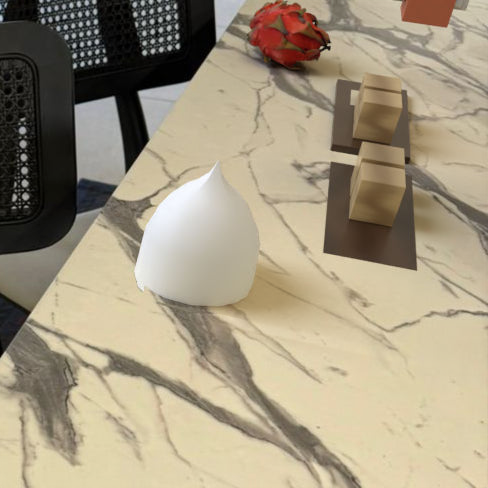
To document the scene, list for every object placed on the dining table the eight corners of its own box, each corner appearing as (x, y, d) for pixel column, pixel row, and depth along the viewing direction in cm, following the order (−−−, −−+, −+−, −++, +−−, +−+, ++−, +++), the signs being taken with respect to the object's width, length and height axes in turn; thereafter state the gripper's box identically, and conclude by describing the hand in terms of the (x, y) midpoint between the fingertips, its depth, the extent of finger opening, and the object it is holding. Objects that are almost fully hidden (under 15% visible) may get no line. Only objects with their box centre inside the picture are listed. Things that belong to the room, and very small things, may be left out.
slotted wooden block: (405, 96, 135) (418, 56, 131) (408, 164, 119) (423, 120, 115) (336, 84, 136) (347, 44, 133) (330, 150, 120) (342, 106, 117)
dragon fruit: (236, 59, 145) (311, 95, 142) (227, 36, 137) (306, 73, 134) (269, 3, 143) (345, 38, 140) (262, -24, 135) (342, 12, 132)
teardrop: (251, 322, 91) (285, 197, 83) (128, 303, 92) (150, 178, 84) (252, 261, 99) (282, 142, 91) (138, 244, 100) (159, 125, 92)
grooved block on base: (409, 182, 115) (425, 137, 112) (414, 277, 99) (433, 229, 96) (328, 167, 116) (341, 123, 113) (320, 259, 100) (335, 211, 97)
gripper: (593, -149, 93) (531, 10, 102) (365, -177, 96) (325, -20, 105) (605, -136, 89) (540, 29, 98) (366, -165, 92) (324, -2, 101)
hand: (427, 3), depth 102 cm, fingers closed on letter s, 4 cm apart
